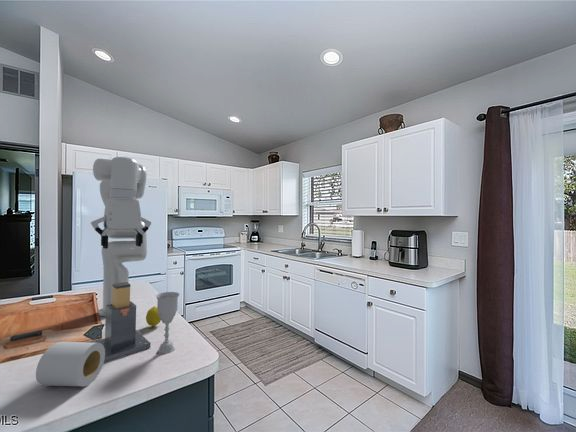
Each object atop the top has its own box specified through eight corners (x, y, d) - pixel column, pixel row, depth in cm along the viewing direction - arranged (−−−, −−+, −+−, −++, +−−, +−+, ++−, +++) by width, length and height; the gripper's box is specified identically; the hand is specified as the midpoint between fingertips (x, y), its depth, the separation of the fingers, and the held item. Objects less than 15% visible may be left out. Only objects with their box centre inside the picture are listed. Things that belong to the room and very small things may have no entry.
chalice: (182, 346, 90) (184, 293, 90) (167, 356, 83) (168, 299, 83) (165, 342, 92) (166, 291, 92) (149, 352, 86) (150, 296, 86)
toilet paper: (35, 394, 65) (36, 353, 65) (68, 370, 75) (69, 335, 75) (76, 395, 65) (77, 354, 65) (104, 371, 75) (105, 336, 75)
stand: (89, 347, 88) (90, 304, 88) (136, 333, 98) (136, 296, 98) (100, 363, 79) (101, 316, 78) (150, 347, 89) (151, 305, 89)
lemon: (155, 330, 102) (155, 309, 101) (142, 329, 103) (142, 308, 103) (164, 324, 107) (165, 304, 107) (152, 323, 108) (152, 303, 108)
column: (110, 341, 88) (112, 283, 88) (125, 337, 91) (126, 281, 91) (114, 345, 85) (116, 286, 85) (129, 341, 89) (130, 284, 88)
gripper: (147, 197, 97) (146, 244, 97) (89, 193, 84) (87, 247, 84) (155, 196, 92) (154, 246, 92) (94, 192, 79) (93, 250, 79)
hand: (122, 247), depth 88 cm, fingers open, 9 cm apart
